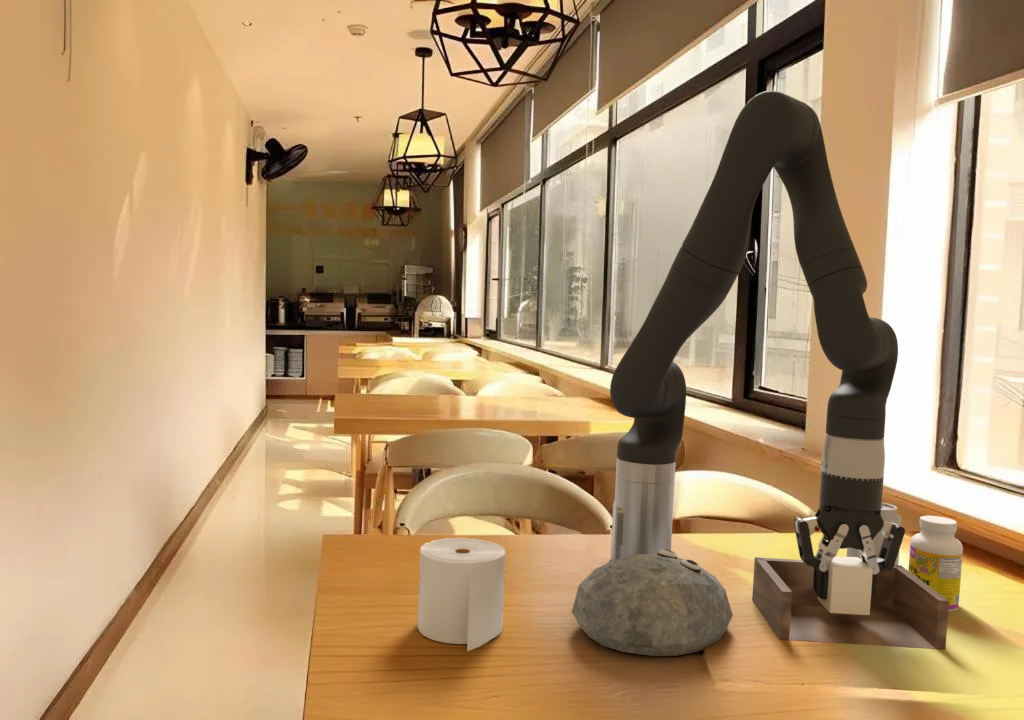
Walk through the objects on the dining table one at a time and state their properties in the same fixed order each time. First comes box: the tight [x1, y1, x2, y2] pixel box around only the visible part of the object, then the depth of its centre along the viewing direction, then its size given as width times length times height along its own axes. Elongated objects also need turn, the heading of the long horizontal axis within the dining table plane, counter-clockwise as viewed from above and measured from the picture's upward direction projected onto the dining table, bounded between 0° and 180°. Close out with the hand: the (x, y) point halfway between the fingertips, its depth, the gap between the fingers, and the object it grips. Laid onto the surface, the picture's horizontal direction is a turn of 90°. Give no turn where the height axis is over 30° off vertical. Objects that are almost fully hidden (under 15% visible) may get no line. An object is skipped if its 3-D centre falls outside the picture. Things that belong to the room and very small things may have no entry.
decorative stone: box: [571, 550, 734, 657], centre depth 103 cm, size 18×21×10 cm
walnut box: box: [751, 556, 949, 650], centre depth 107 cm, size 20×14×7 cm
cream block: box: [818, 555, 873, 615], centre depth 107 cm, size 5×5×6 cm
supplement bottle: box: [907, 515, 964, 612], centre depth 116 cm, size 7×7×13 cm
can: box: [845, 501, 903, 565], centre depth 128 cm, size 8×8×12 cm
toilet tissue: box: [417, 537, 506, 652], centre depth 102 cm, size 11×12×10 cm
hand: (843, 598), depth 107 cm, fingers closed on cream block, 5 cm apart
